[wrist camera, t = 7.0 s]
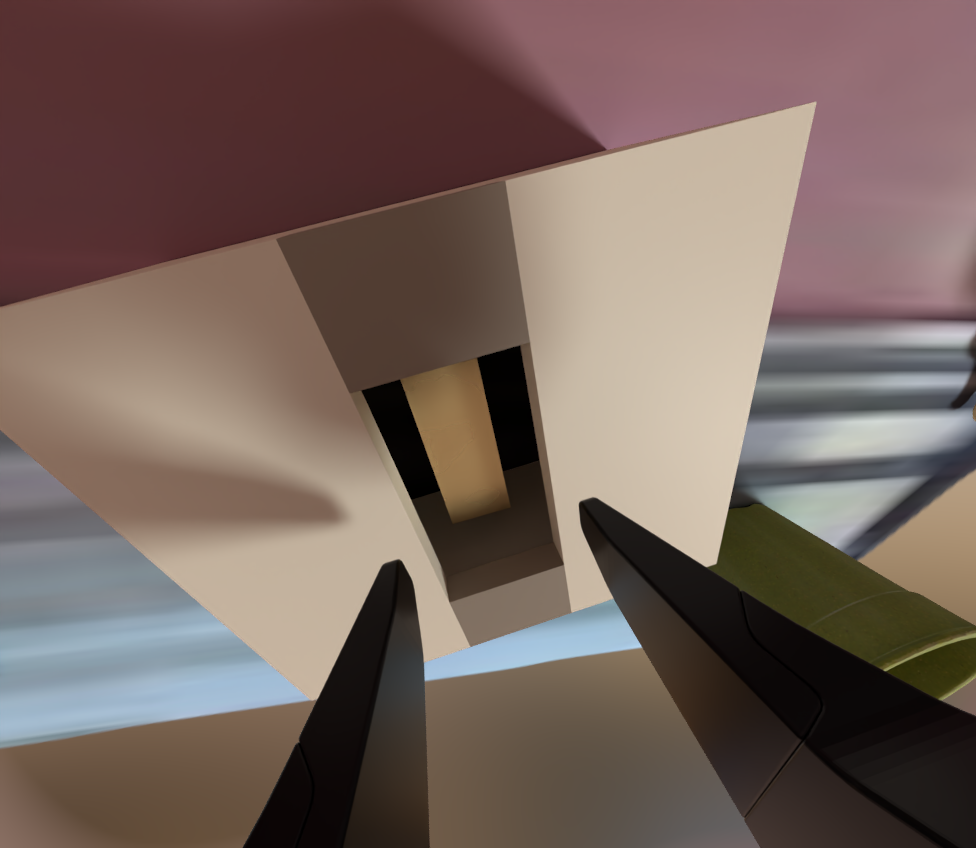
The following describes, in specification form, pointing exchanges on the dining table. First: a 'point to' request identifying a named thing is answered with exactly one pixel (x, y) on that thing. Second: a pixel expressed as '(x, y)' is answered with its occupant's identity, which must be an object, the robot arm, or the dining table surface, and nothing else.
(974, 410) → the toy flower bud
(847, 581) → the plant pot
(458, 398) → the block
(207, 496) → the box
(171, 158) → the dining table surface
